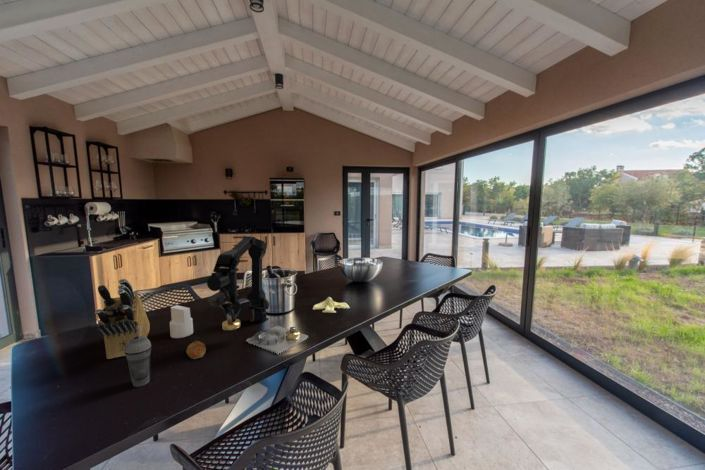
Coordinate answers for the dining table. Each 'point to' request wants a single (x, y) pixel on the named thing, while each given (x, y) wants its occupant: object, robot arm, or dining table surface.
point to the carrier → (277, 339)
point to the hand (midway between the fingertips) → (231, 320)
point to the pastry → (196, 350)
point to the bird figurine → (330, 305)
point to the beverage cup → (139, 359)
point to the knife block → (121, 319)
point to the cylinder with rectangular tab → (180, 322)
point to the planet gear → (230, 323)
